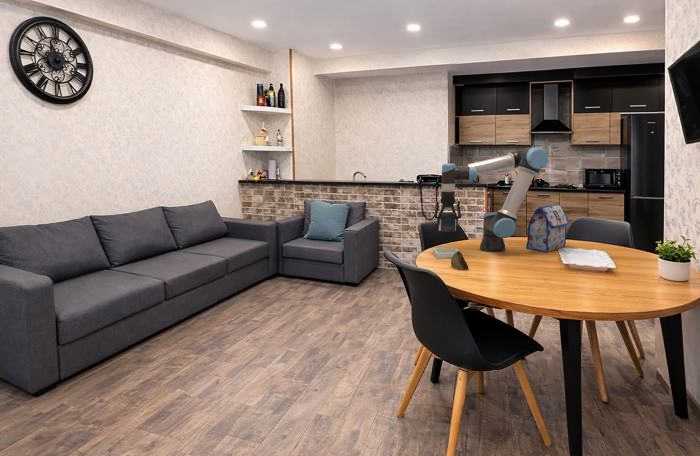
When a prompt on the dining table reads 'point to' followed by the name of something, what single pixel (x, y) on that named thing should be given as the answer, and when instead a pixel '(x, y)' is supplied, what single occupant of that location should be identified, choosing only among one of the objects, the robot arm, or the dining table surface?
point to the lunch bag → (547, 229)
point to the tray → (444, 252)
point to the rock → (459, 261)
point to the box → (447, 221)
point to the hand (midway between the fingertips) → (447, 230)
